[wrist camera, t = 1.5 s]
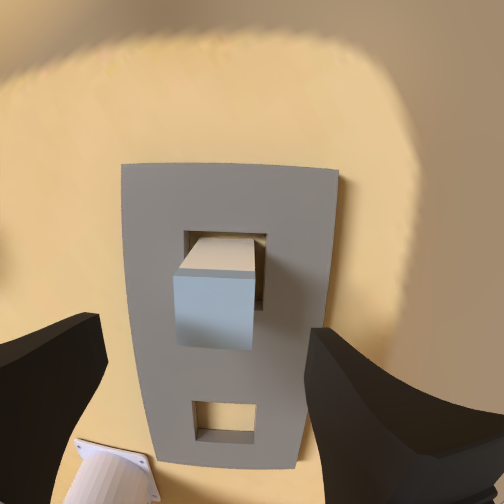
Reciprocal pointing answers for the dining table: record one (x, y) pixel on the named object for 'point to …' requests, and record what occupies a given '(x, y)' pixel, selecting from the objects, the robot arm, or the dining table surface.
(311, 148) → the dining table surface
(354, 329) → the dining table surface
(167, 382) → the socket board
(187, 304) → the plug
